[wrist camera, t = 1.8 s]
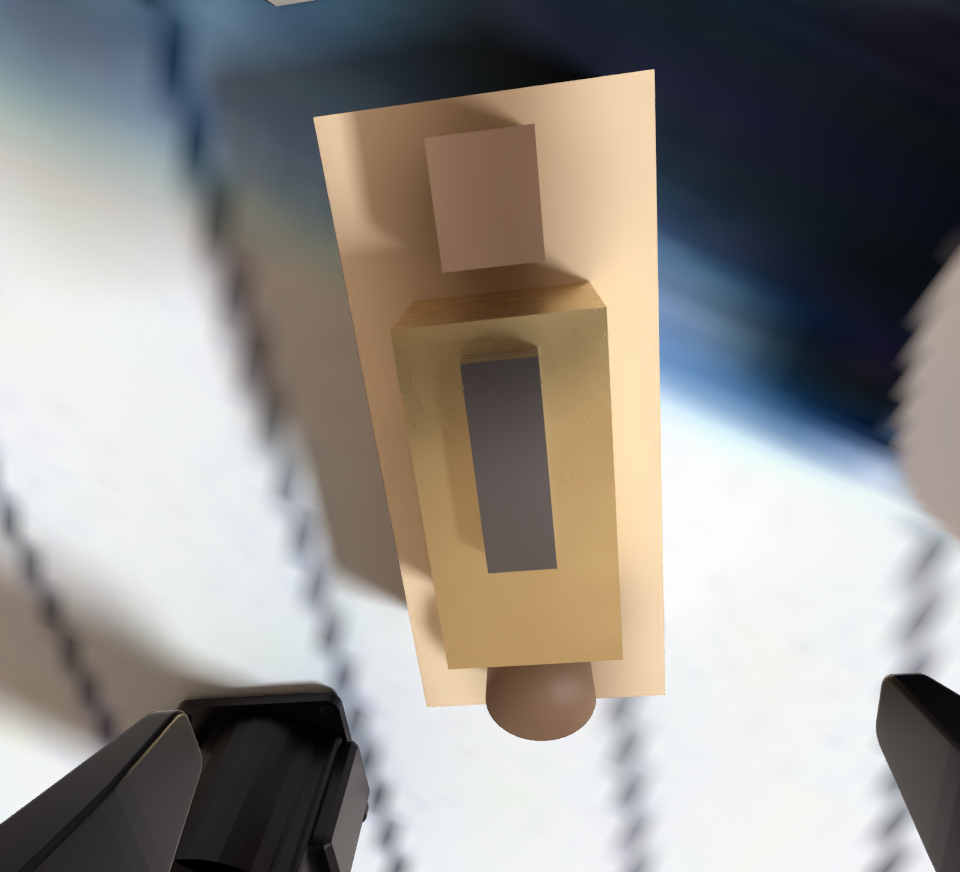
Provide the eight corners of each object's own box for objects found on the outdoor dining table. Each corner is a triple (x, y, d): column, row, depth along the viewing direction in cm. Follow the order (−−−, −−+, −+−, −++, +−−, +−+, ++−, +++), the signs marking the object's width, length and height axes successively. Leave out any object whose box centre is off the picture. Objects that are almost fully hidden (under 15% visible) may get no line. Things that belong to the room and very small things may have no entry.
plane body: (441, 621, 23) (417, 763, 18) (356, 129, 17) (280, 108, 12) (640, 608, 22) (681, 751, 17) (623, 93, 17) (677, 51, 11)
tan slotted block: (459, 592, 18) (445, 691, 14) (413, 301, 15) (382, 338, 11) (606, 582, 17) (628, 681, 14) (589, 281, 14) (611, 314, 11)
